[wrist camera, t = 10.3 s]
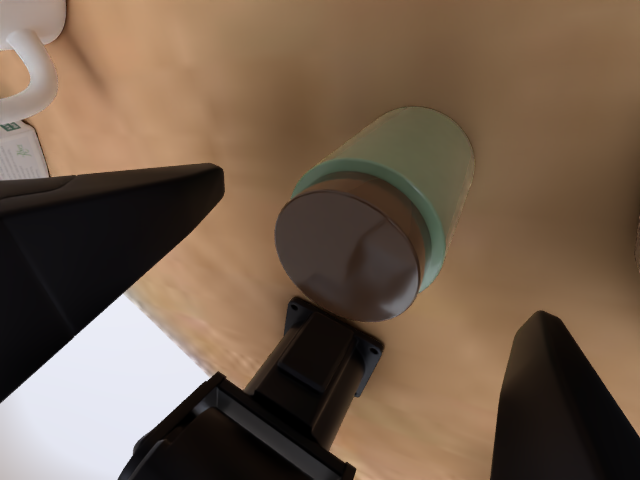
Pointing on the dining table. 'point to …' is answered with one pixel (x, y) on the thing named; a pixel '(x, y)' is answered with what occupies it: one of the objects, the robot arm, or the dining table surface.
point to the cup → (31, 52)
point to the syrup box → (20, 153)
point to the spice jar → (377, 215)
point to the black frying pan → (638, 246)
